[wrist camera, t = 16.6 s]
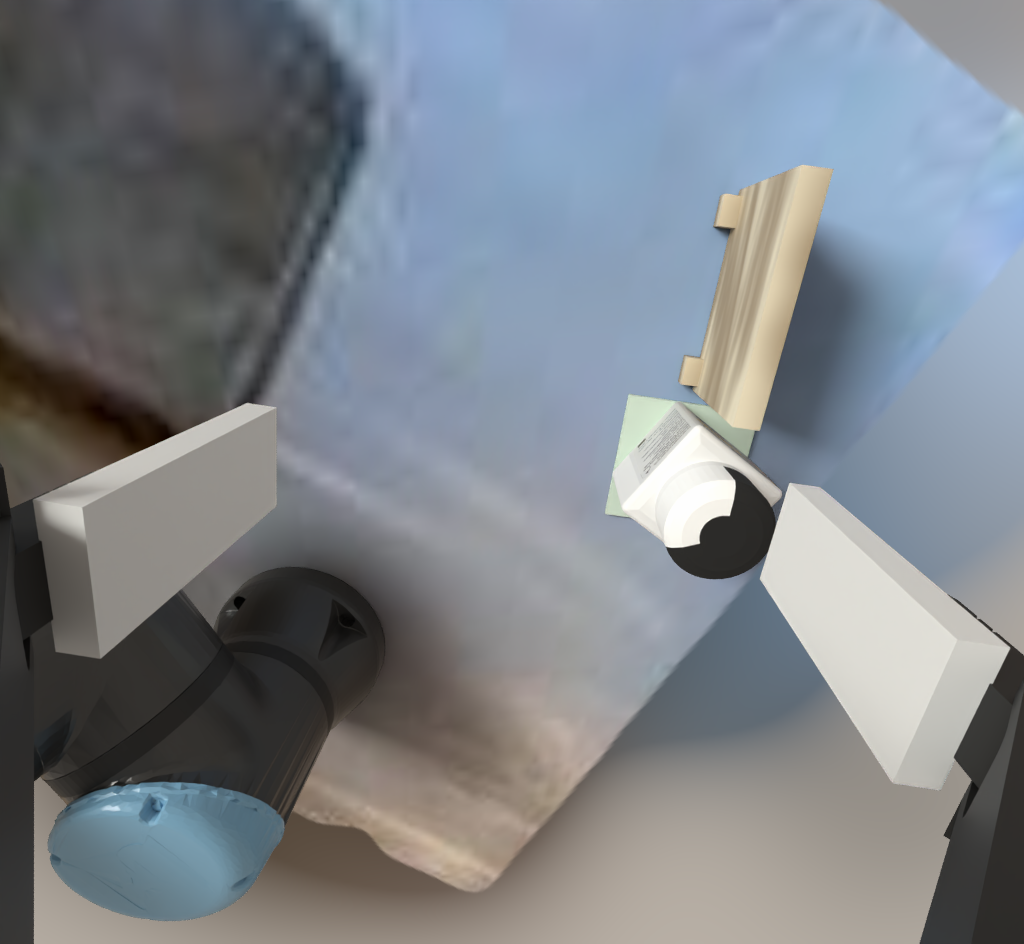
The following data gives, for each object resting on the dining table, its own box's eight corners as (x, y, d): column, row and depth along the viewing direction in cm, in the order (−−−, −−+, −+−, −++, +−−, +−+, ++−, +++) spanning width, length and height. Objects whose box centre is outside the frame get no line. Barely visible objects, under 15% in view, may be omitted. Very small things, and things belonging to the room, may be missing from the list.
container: (750, 459, 47) (820, 528, 34) (682, 528, 49) (724, 617, 37) (676, 398, 45) (721, 448, 33) (609, 472, 48) (628, 544, 36)
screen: (676, 387, 46) (712, 424, 35) (722, 187, 41) (778, 161, 31) (728, 395, 46) (779, 434, 35) (780, 195, 41) (857, 172, 30)
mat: (604, 511, 49) (605, 513, 49) (628, 394, 46) (629, 395, 46) (725, 529, 49) (726, 531, 49) (758, 412, 46) (759, 413, 45)
